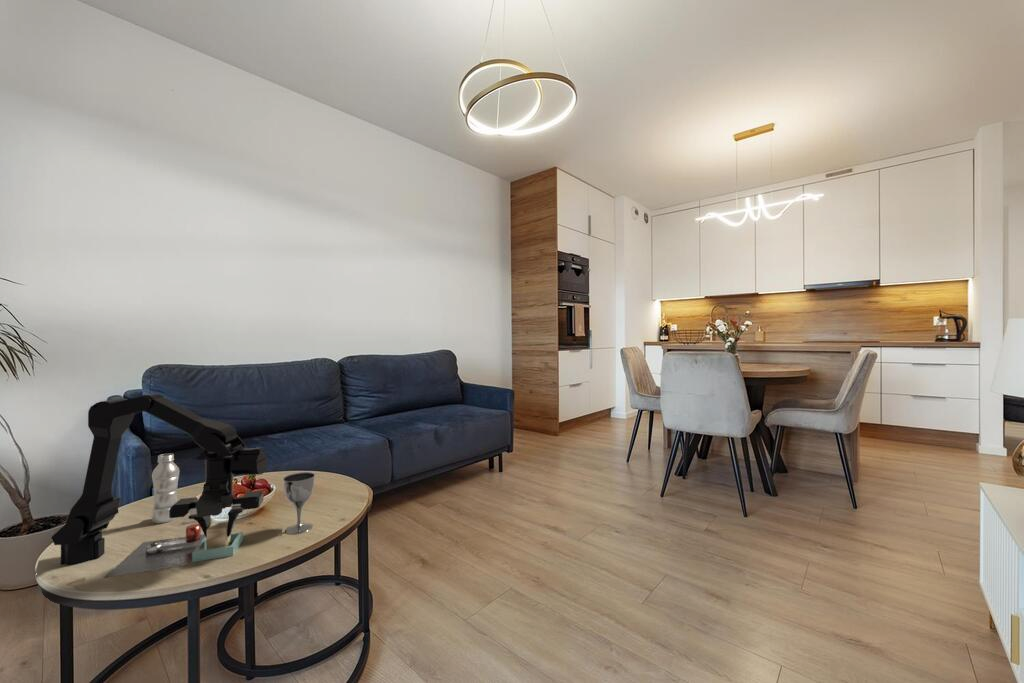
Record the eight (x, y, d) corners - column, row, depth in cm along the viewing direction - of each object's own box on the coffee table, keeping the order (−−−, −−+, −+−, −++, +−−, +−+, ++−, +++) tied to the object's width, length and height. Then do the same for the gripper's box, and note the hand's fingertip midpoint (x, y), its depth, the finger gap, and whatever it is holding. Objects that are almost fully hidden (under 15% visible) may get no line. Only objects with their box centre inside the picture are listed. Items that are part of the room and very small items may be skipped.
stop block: (206, 550, 100) (206, 530, 100) (212, 542, 104) (212, 523, 104) (225, 547, 101) (225, 527, 101) (230, 540, 105) (230, 521, 105)
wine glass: (283, 537, 111) (284, 483, 111) (282, 526, 118) (282, 475, 118) (315, 530, 115) (316, 478, 115) (312, 520, 122) (312, 470, 122)
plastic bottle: (175, 515, 125) (175, 450, 125) (182, 521, 121) (183, 454, 121) (147, 523, 120) (148, 455, 120) (154, 529, 116) (155, 459, 116)
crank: (143, 555, 100) (143, 535, 100) (148, 549, 103) (149, 530, 103) (198, 546, 104) (198, 528, 104) (202, 541, 107) (202, 522, 107)
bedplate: (104, 581, 91) (104, 576, 91) (143, 545, 107) (143, 541, 107) (187, 568, 96) (187, 564, 96) (212, 535, 112) (212, 532, 112)
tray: (192, 565, 97) (192, 552, 97) (205, 548, 105) (205, 536, 105) (233, 558, 100) (233, 546, 100) (242, 542, 108) (242, 531, 108)
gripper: (158, 491, 92) (157, 559, 92) (253, 482, 98) (252, 546, 98) (179, 476, 102) (179, 537, 102) (264, 468, 109) (263, 526, 109)
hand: (218, 537), depth 103 cm, fingers closed on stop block, 4 cm apart
